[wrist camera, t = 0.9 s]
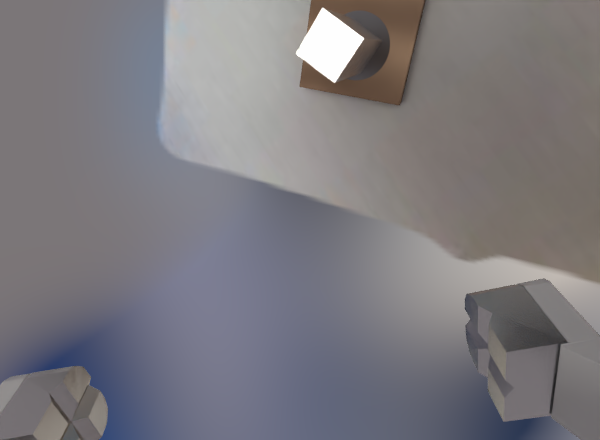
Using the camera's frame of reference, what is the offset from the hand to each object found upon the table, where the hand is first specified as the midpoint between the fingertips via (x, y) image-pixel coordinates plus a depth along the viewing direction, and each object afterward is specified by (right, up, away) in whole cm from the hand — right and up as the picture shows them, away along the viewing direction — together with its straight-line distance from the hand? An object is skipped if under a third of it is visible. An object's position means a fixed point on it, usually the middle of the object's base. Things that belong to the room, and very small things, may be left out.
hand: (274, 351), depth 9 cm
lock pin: (+6, +19, +30) cm, 36 cm away
